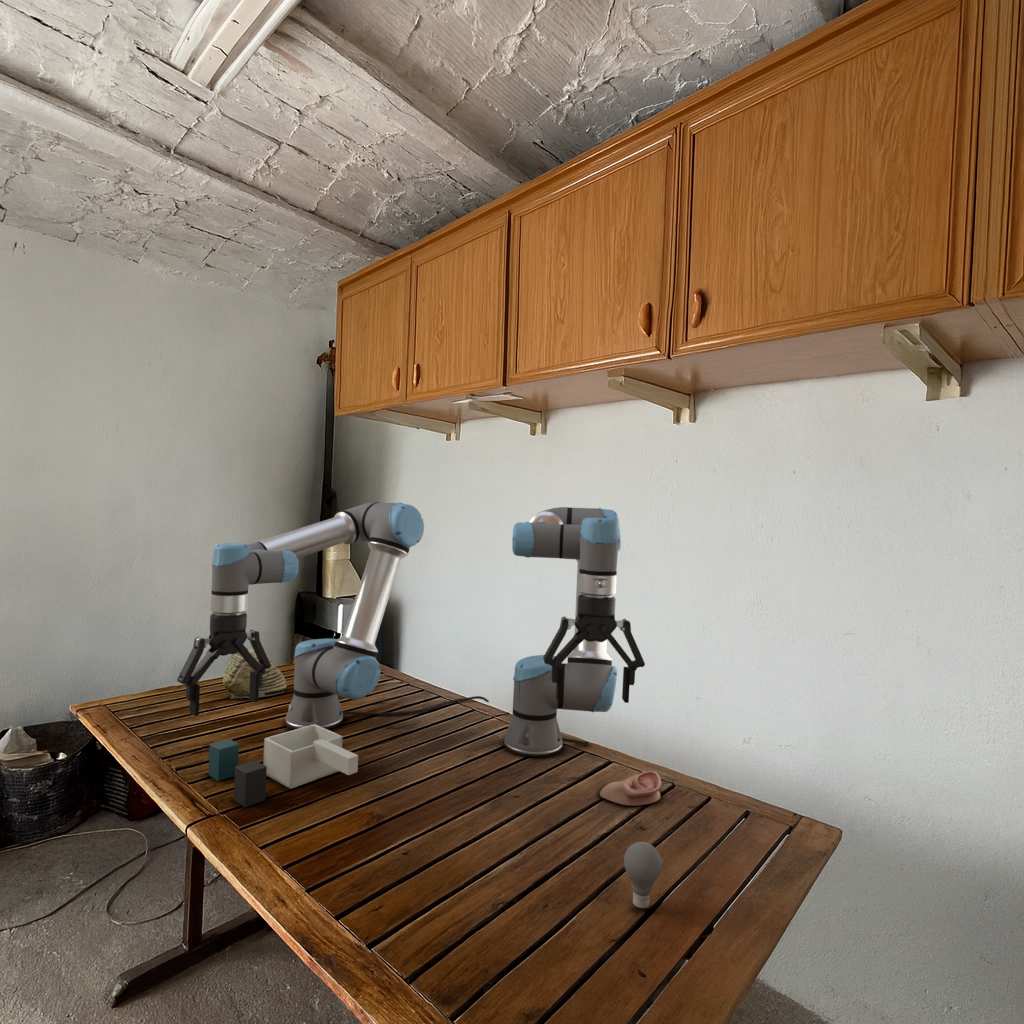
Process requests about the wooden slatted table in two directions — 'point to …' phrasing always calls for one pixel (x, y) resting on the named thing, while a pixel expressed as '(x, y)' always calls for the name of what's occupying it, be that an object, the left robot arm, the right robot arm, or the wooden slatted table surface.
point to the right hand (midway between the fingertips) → (591, 699)
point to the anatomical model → (634, 790)
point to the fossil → (239, 677)
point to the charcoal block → (250, 783)
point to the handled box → (306, 756)
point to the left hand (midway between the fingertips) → (224, 707)
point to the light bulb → (642, 870)
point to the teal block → (223, 759)
